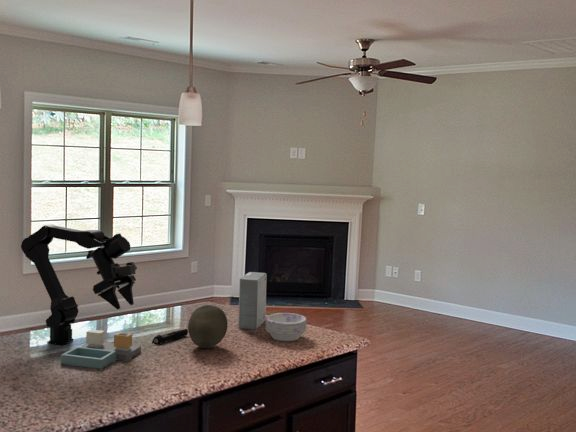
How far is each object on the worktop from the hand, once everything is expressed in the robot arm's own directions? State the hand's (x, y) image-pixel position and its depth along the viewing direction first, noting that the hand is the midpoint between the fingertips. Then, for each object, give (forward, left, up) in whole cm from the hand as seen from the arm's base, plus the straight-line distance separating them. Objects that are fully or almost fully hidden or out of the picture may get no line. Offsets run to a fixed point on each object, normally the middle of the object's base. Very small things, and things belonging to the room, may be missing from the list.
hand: (125, 306), depth 207 cm
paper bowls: (+47, +37, -16) cm, 61 cm away
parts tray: (-6, -12, -16) cm, 21 cm away
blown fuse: (0, -2, -16) cm, 16 cm away
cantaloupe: (+24, +15, -16) cm, 32 cm away
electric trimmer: (+8, +20, -16) cm, 27 cm away
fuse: (-10, -2, -16) cm, 19 cm away
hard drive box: (+30, +51, -16) cm, 61 cm away
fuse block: (-5, -2, -16) cm, 17 cm away
